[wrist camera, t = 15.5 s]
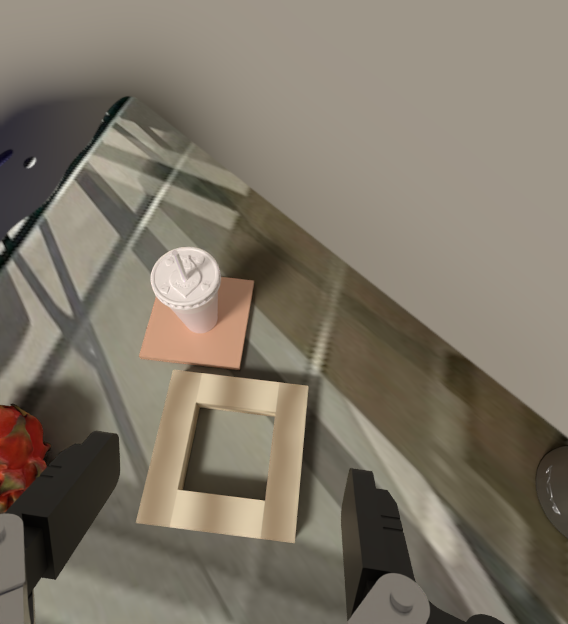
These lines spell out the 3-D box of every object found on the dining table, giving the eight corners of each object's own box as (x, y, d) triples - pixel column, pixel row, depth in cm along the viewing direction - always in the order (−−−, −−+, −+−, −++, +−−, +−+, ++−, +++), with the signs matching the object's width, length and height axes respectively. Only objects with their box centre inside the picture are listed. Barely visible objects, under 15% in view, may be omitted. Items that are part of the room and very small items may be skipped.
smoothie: (172, 347, 44) (132, 283, 31) (173, 295, 46) (137, 218, 34) (230, 341, 44) (215, 277, 31) (228, 291, 47) (213, 213, 34)
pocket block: (306, 391, 43) (308, 385, 40) (293, 540, 37) (294, 543, 34) (178, 376, 43) (173, 369, 41) (144, 521, 37) (135, 522, 35)
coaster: (254, 283, 48) (254, 280, 48) (239, 370, 43) (239, 368, 43) (165, 273, 48) (163, 270, 48) (141, 358, 44) (138, 356, 43)
